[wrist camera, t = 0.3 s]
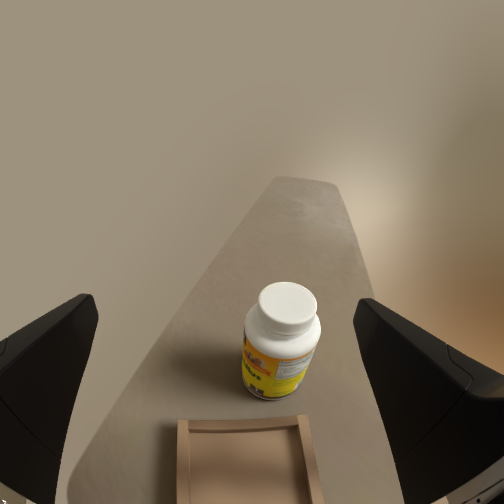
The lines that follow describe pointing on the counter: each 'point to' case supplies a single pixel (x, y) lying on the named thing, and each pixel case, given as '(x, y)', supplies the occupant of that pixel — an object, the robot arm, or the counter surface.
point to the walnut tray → (247, 462)
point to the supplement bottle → (279, 340)
